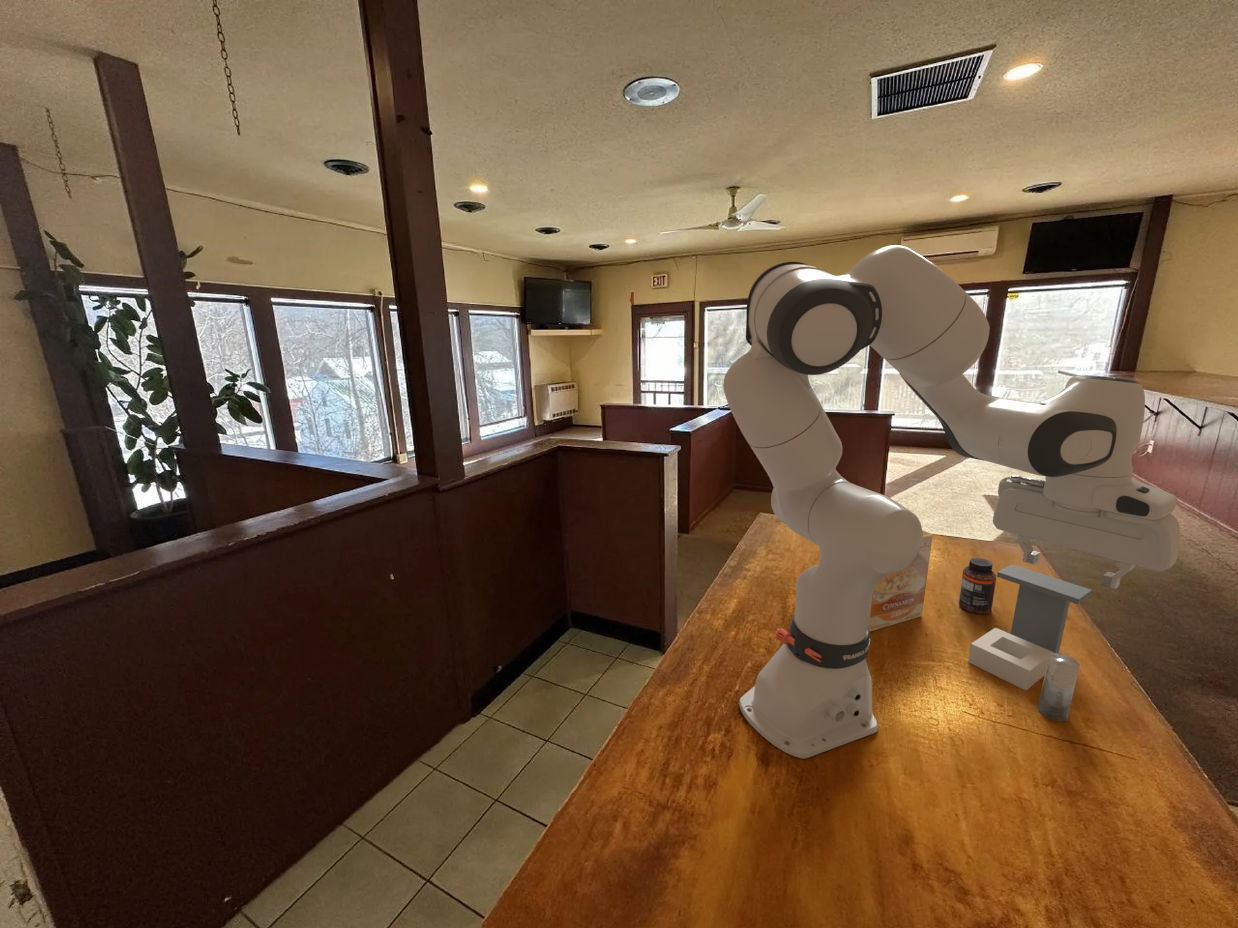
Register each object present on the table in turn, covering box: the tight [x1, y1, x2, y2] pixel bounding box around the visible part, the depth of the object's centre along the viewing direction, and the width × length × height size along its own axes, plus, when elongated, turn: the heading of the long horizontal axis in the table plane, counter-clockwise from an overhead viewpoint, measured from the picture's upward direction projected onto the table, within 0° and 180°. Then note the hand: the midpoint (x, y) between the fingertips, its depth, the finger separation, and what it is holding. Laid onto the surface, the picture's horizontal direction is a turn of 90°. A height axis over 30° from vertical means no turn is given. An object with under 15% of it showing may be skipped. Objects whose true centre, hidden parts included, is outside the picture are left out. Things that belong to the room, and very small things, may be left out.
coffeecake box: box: [868, 529, 934, 633], centre depth 104 cm, size 15×7×20 cm, turn 108°
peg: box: [1037, 652, 1081, 723], centre depth 77 cm, size 4×4×10 cm
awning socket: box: [967, 564, 1093, 691], centre depth 89 cm, size 16×12×15 cm
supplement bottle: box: [958, 557, 997, 615], centre depth 106 cm, size 6×6×11 cm
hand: (1067, 573), depth 74 cm, fingers open, 8 cm apart
